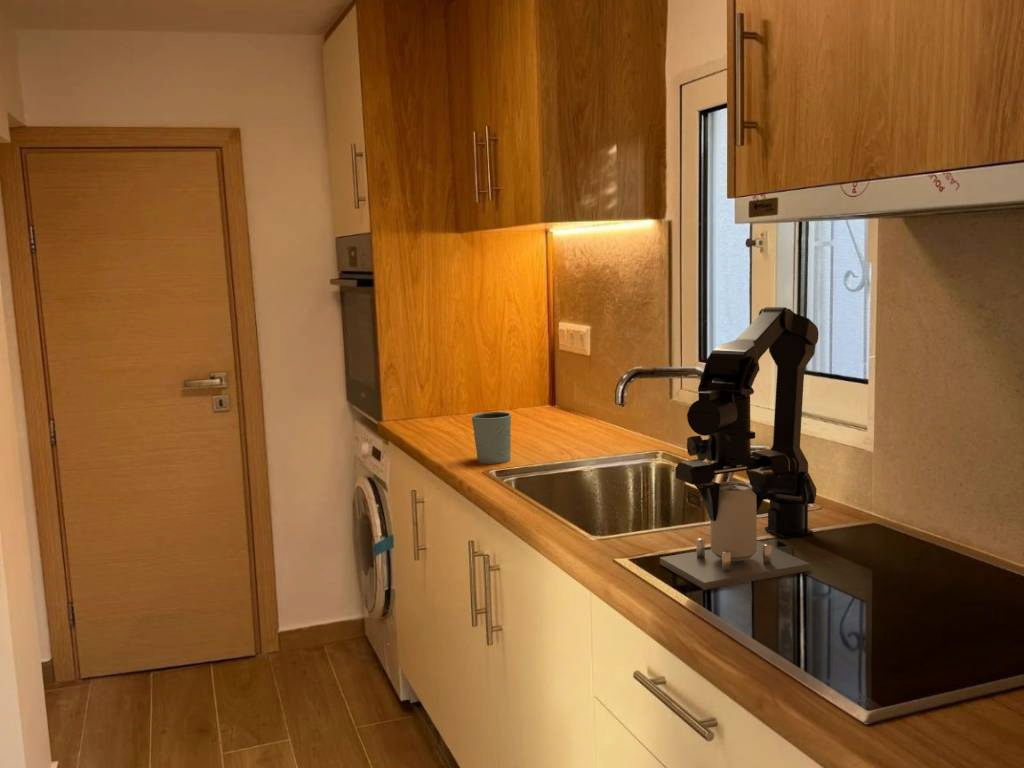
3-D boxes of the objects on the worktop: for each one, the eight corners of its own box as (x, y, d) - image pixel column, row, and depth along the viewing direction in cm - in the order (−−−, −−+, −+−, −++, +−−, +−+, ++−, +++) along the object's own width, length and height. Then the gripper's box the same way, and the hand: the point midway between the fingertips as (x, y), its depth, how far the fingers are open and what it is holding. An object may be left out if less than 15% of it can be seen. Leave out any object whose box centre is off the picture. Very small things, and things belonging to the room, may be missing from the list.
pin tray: (759, 547, 173) (759, 523, 173) (809, 570, 160) (809, 544, 160) (660, 564, 166) (659, 539, 166) (704, 590, 153) (704, 563, 153)
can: (711, 562, 160) (710, 490, 158) (710, 547, 167) (709, 479, 166) (758, 562, 159) (758, 490, 157) (755, 548, 166) (754, 479, 164)
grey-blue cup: (516, 462, 249) (514, 416, 247) (477, 466, 247) (475, 419, 245) (508, 454, 258) (506, 410, 257) (470, 458, 256) (468, 413, 255)
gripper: (751, 412, 171) (752, 498, 173) (657, 423, 164) (659, 513, 166) (791, 422, 160) (791, 514, 162) (693, 434, 154) (694, 530, 156)
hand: (733, 517), depth 162 cm, fingers closed on can, 7 cm apart
